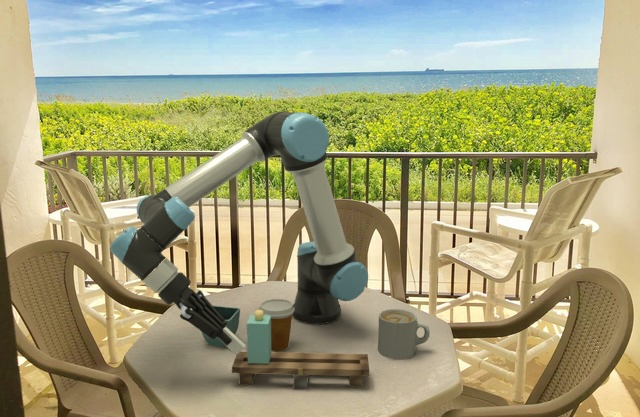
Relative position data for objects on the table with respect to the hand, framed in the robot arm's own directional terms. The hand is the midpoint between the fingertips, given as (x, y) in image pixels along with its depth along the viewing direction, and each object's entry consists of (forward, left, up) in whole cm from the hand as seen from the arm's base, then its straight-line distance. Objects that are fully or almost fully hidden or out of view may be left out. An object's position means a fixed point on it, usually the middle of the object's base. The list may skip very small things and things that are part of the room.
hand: (240, 349), depth 137 cm
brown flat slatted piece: (-10, +10, -8) cm, 16 cm away
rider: (-3, +3, -4) cm, 6 cm away
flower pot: (-7, -20, -8) cm, 23 cm away
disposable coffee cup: (-17, -8, -8) cm, 21 cm away
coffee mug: (-40, +17, -8) cm, 45 cm away
